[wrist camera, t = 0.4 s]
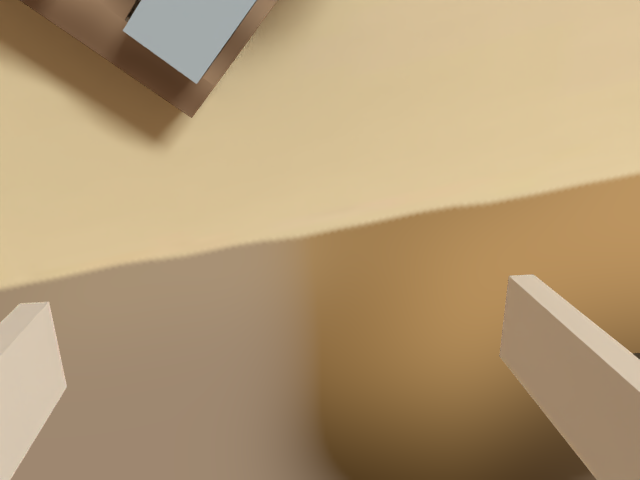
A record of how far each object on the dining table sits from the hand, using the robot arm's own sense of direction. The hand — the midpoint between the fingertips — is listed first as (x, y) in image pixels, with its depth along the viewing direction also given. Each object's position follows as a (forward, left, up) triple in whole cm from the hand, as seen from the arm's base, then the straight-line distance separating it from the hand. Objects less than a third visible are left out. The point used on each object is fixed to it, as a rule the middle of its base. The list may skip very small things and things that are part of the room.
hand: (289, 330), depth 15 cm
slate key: (-1, -6, -21) cm, 22 cm away
